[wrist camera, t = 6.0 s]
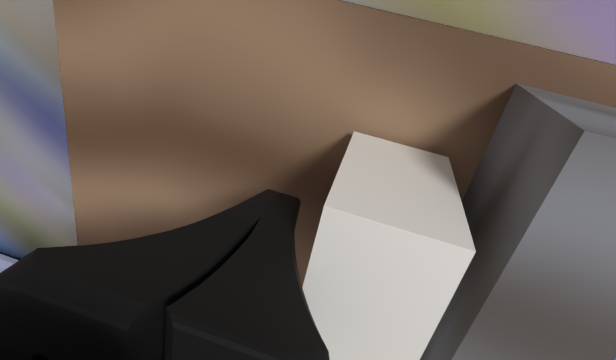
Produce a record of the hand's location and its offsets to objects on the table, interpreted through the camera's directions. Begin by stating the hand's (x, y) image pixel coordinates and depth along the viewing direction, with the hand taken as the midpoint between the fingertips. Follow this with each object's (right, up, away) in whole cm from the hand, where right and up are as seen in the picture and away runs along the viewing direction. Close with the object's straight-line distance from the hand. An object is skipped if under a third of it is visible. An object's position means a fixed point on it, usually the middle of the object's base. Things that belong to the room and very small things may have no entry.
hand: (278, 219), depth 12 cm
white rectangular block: (+3, -1, +2) cm, 4 cm away
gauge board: (0, +2, +3) cm, 3 cm away
